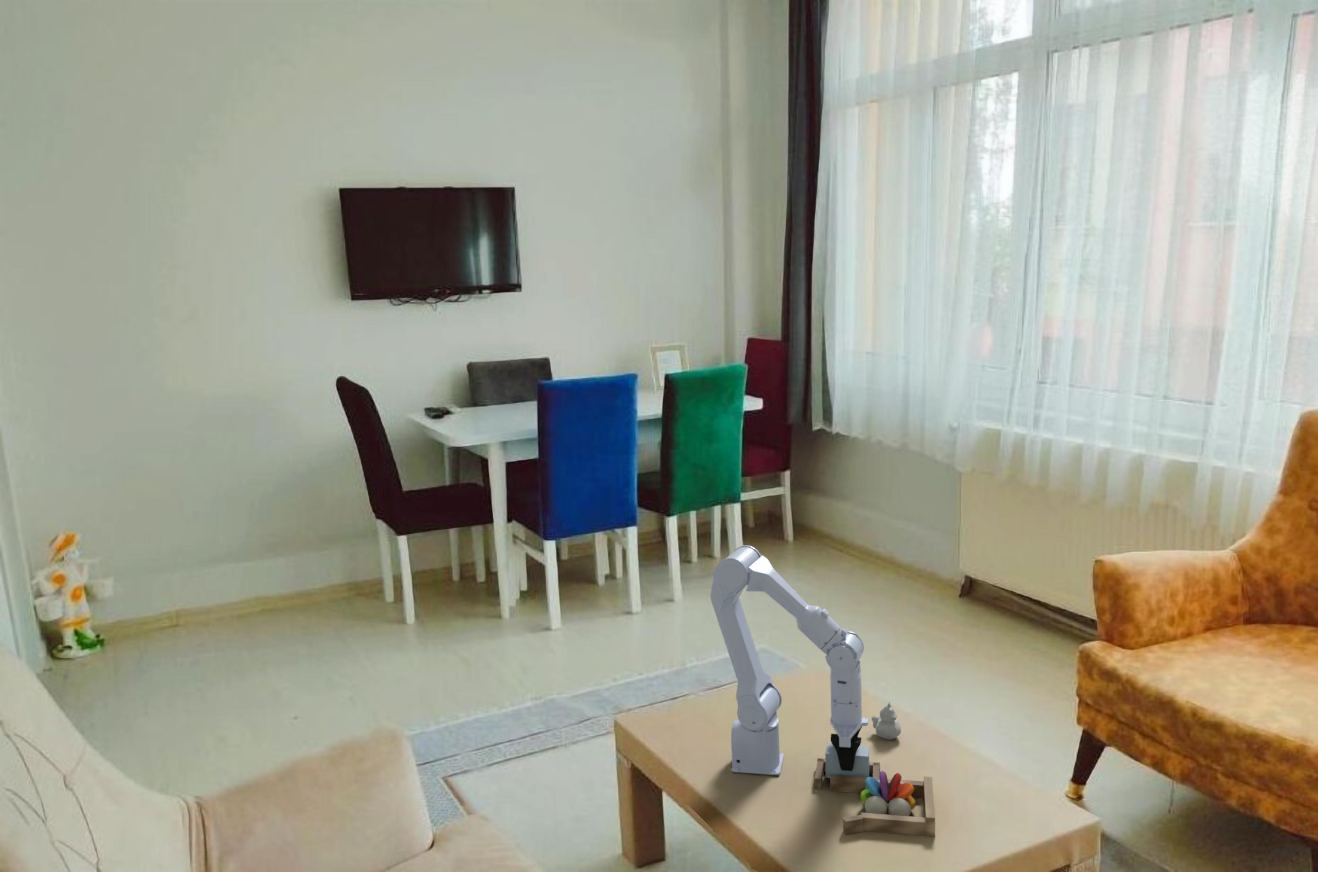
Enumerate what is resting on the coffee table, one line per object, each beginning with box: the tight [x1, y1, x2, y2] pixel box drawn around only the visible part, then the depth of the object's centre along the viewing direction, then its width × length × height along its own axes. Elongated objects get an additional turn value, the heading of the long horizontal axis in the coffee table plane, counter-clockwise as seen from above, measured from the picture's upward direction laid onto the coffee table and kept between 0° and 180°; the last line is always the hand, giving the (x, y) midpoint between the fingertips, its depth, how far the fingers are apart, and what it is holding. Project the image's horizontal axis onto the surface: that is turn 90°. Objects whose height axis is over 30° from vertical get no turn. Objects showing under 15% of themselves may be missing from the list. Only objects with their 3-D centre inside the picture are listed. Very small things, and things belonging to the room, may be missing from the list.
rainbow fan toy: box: [860, 770, 917, 816], centre depth 174 cm, size 8×10×7 cm
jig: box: [814, 757, 936, 838], centre depth 177 cm, size 22×22×4 cm
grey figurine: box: [871, 702, 902, 740], centre depth 200 cm, size 5×7×8 cm
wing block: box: [824, 742, 870, 779], centre depth 185 cm, size 8×4×5 cm, turn 77°
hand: (847, 763), depth 185 cm, fingers closed on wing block, 4 cm apart
